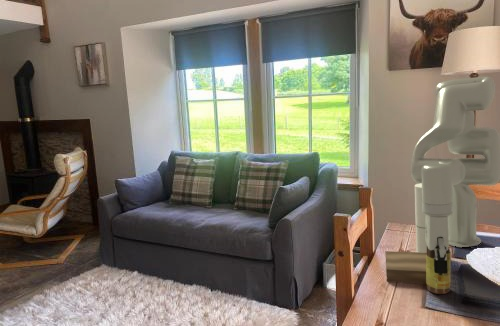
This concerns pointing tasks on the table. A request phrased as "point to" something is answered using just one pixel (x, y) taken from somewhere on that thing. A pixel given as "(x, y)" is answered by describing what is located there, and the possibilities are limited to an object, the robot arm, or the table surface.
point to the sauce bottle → (437, 274)
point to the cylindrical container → (420, 221)
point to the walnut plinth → (406, 267)
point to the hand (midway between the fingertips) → (438, 265)
